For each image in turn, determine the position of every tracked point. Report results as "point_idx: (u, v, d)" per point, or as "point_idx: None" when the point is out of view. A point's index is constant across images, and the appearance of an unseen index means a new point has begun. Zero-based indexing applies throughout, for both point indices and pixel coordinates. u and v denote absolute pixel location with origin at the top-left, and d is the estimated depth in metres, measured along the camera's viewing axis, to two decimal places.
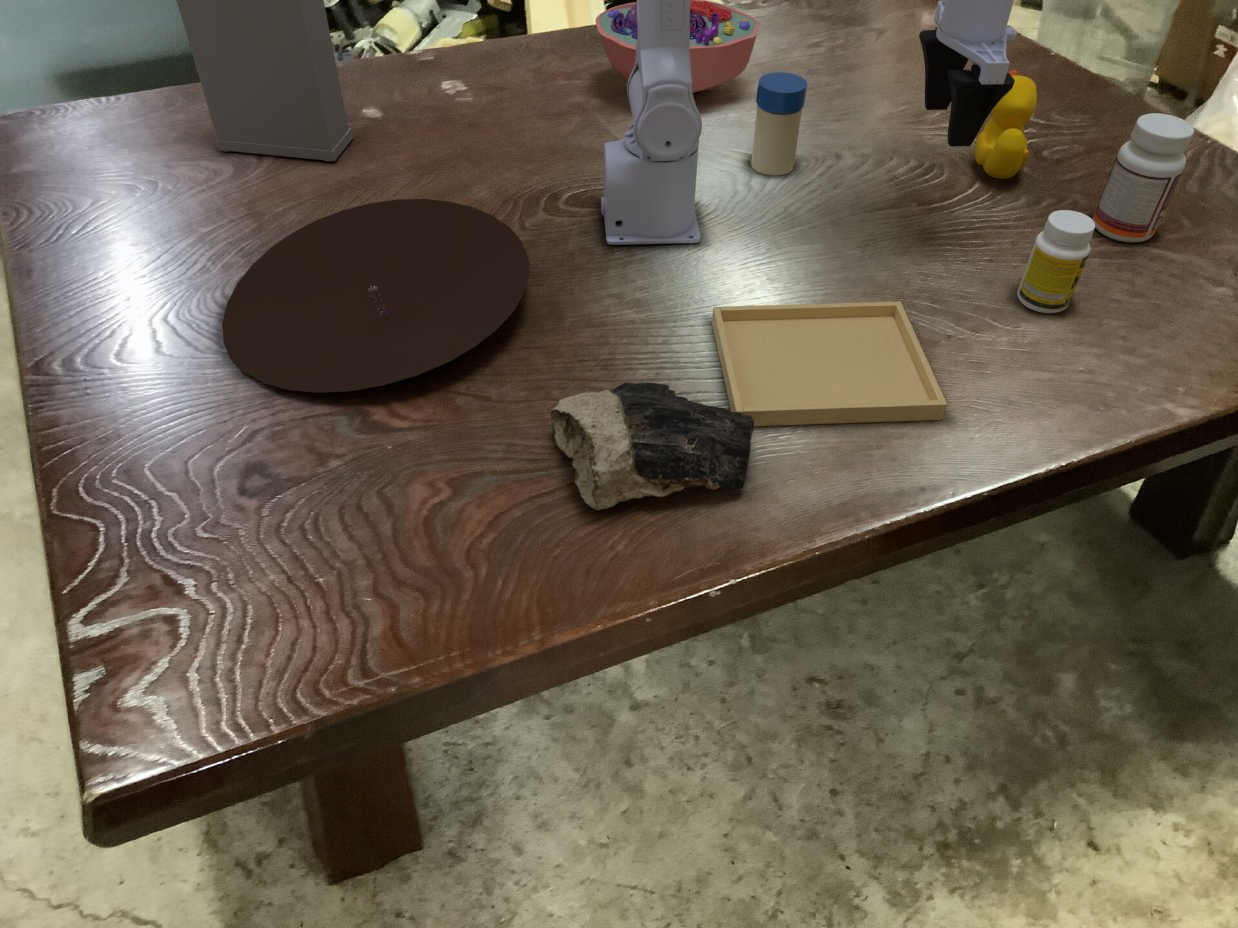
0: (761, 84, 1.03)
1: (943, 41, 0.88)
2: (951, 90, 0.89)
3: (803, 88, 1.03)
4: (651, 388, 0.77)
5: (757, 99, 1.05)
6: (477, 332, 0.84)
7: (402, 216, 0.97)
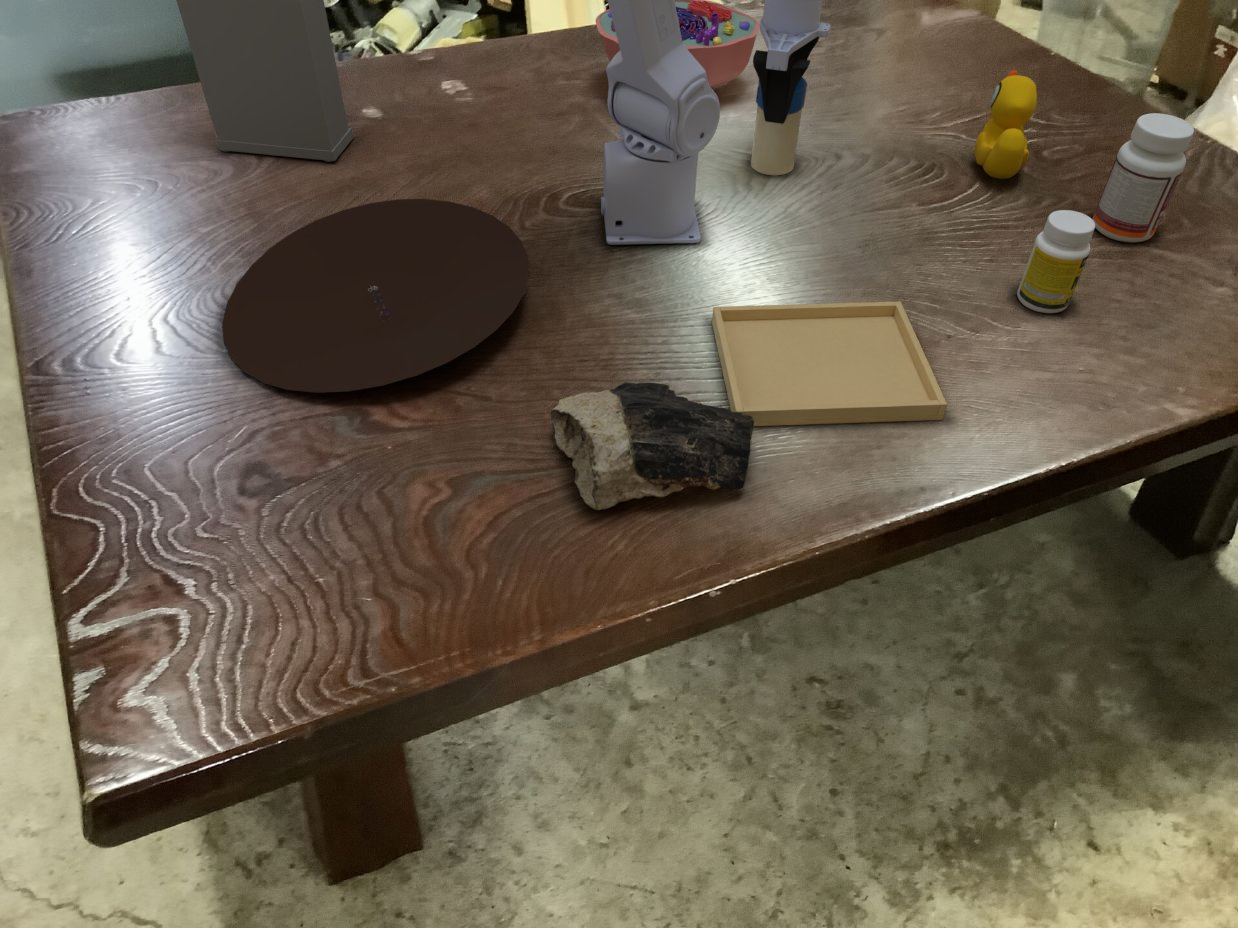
0: None
1: (760, 29, 1.00)
2: None
3: (803, 88, 1.03)
4: (651, 388, 0.77)
5: (757, 99, 1.05)
6: (477, 332, 0.84)
7: (402, 216, 0.97)
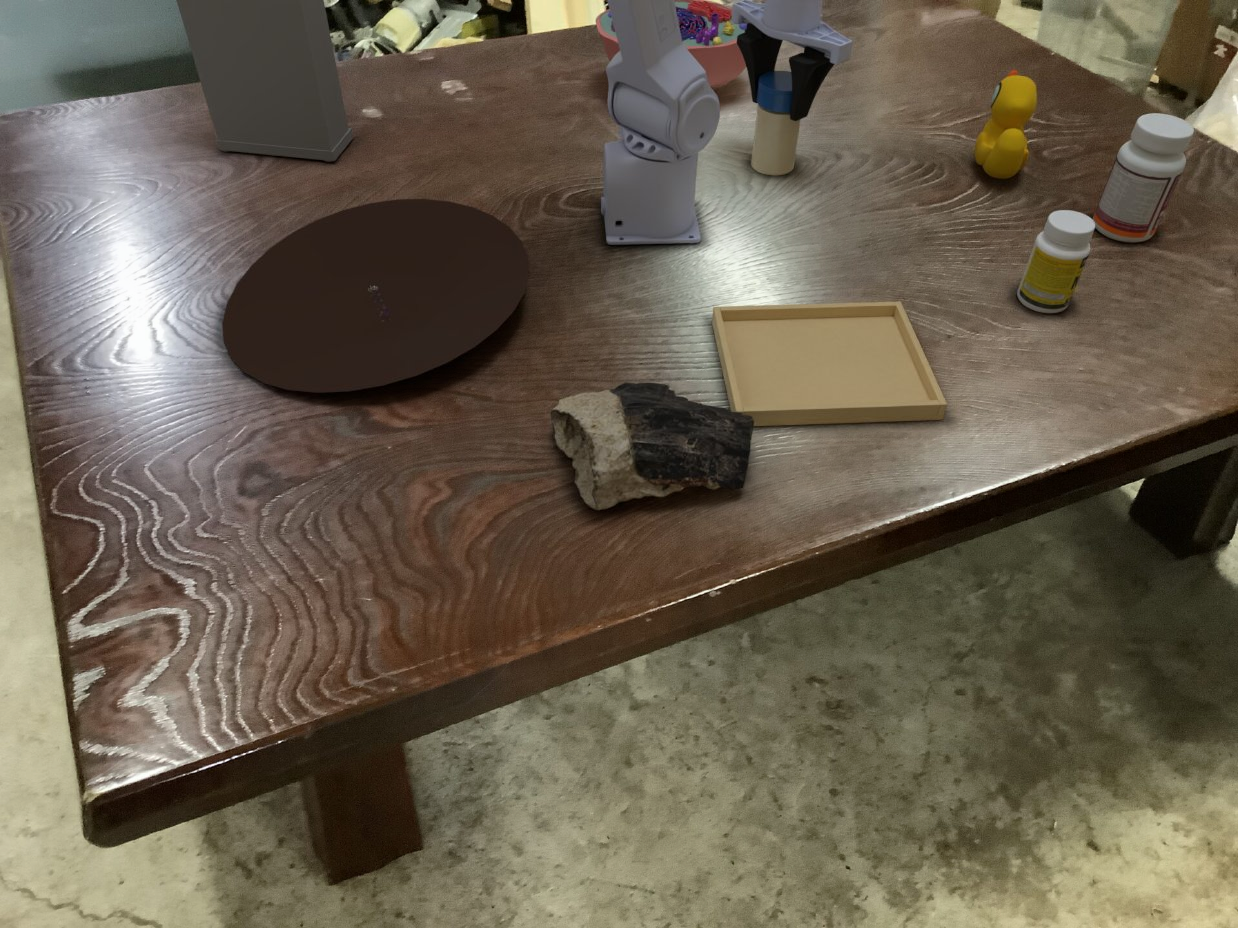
0: (778, 90, 1.02)
1: (779, 37, 0.98)
2: (793, 73, 0.99)
3: None
4: (651, 388, 0.77)
5: (773, 106, 1.03)
6: (477, 332, 0.84)
7: (402, 216, 0.97)
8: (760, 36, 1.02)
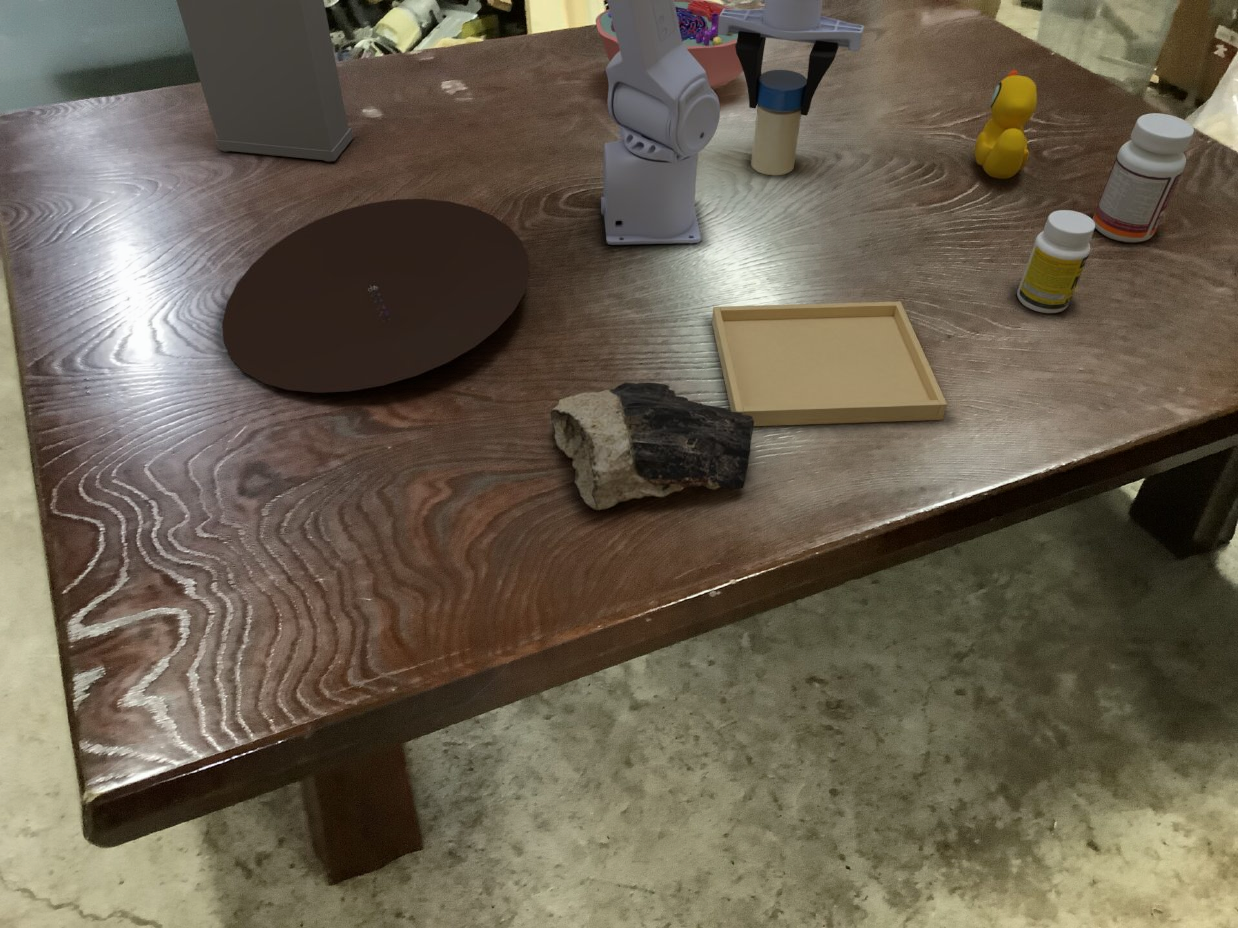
0: (791, 89, 1.02)
1: (796, 38, 0.97)
2: (811, 70, 1.00)
3: (794, 72, 1.05)
4: (651, 388, 0.77)
5: (787, 106, 1.03)
6: (477, 332, 0.84)
7: (402, 216, 0.97)
8: (757, 41, 1.01)
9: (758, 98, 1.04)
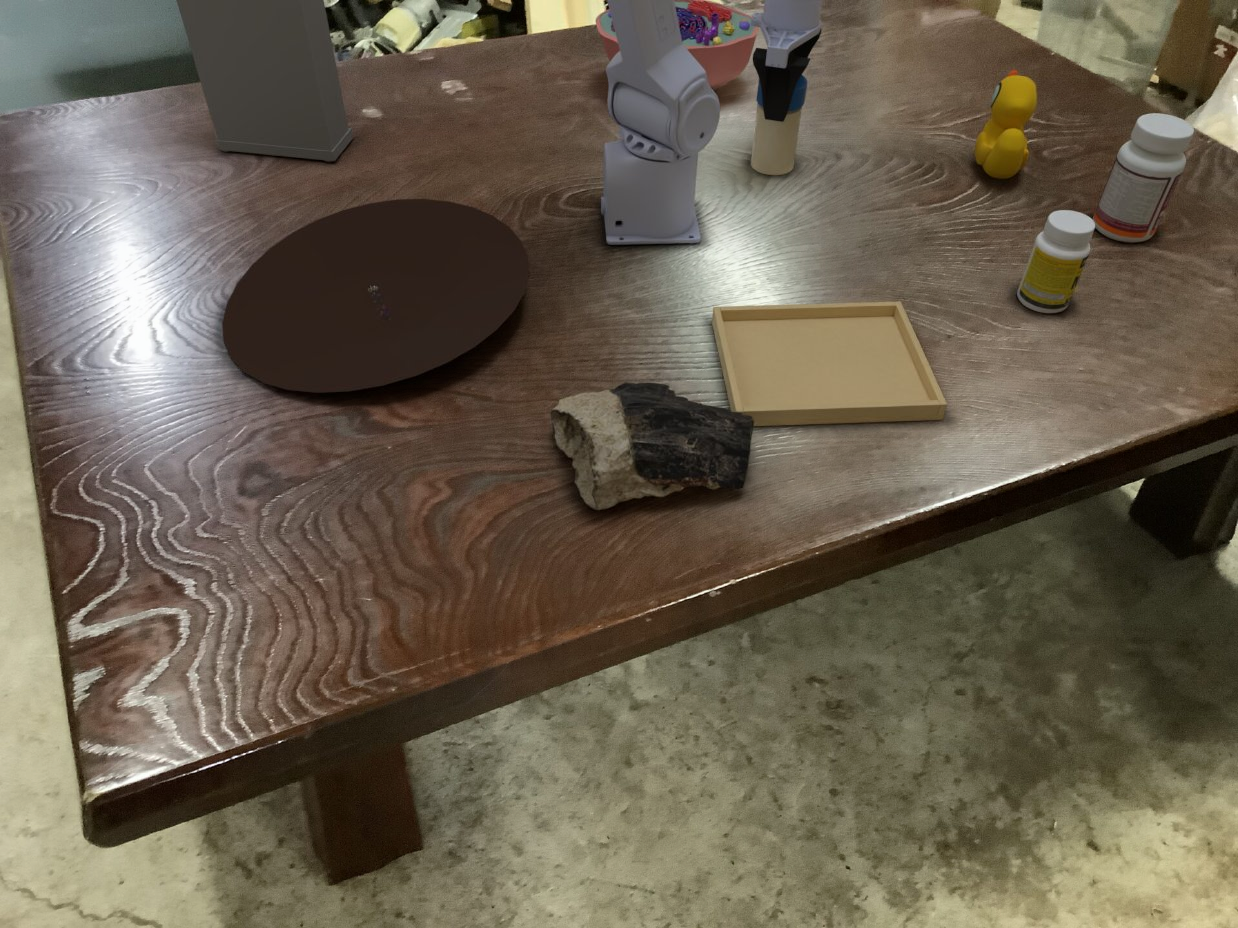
0: (804, 78, 1.04)
1: None
2: (811, 49, 1.03)
3: None
4: (651, 388, 0.77)
5: None
6: (477, 332, 0.84)
7: (402, 216, 0.97)
8: (792, 54, 0.98)
9: None
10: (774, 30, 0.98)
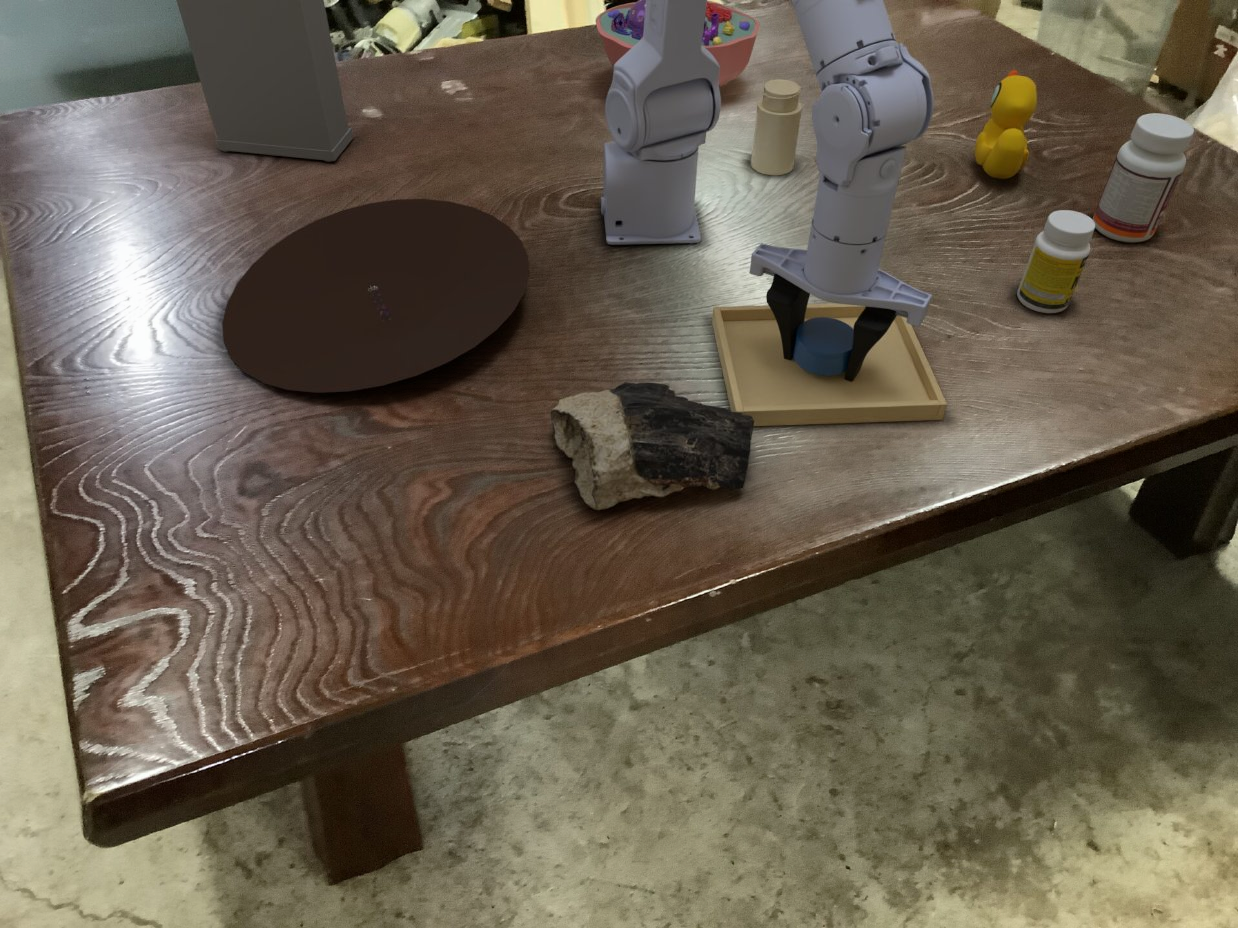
0: (831, 353, 0.81)
1: (838, 301, 0.76)
2: (857, 338, 0.78)
3: (845, 324, 0.83)
4: (651, 388, 0.77)
5: (825, 370, 0.82)
6: (477, 332, 0.84)
7: (402, 216, 0.97)
8: (796, 290, 0.80)
9: (794, 351, 0.83)
10: None
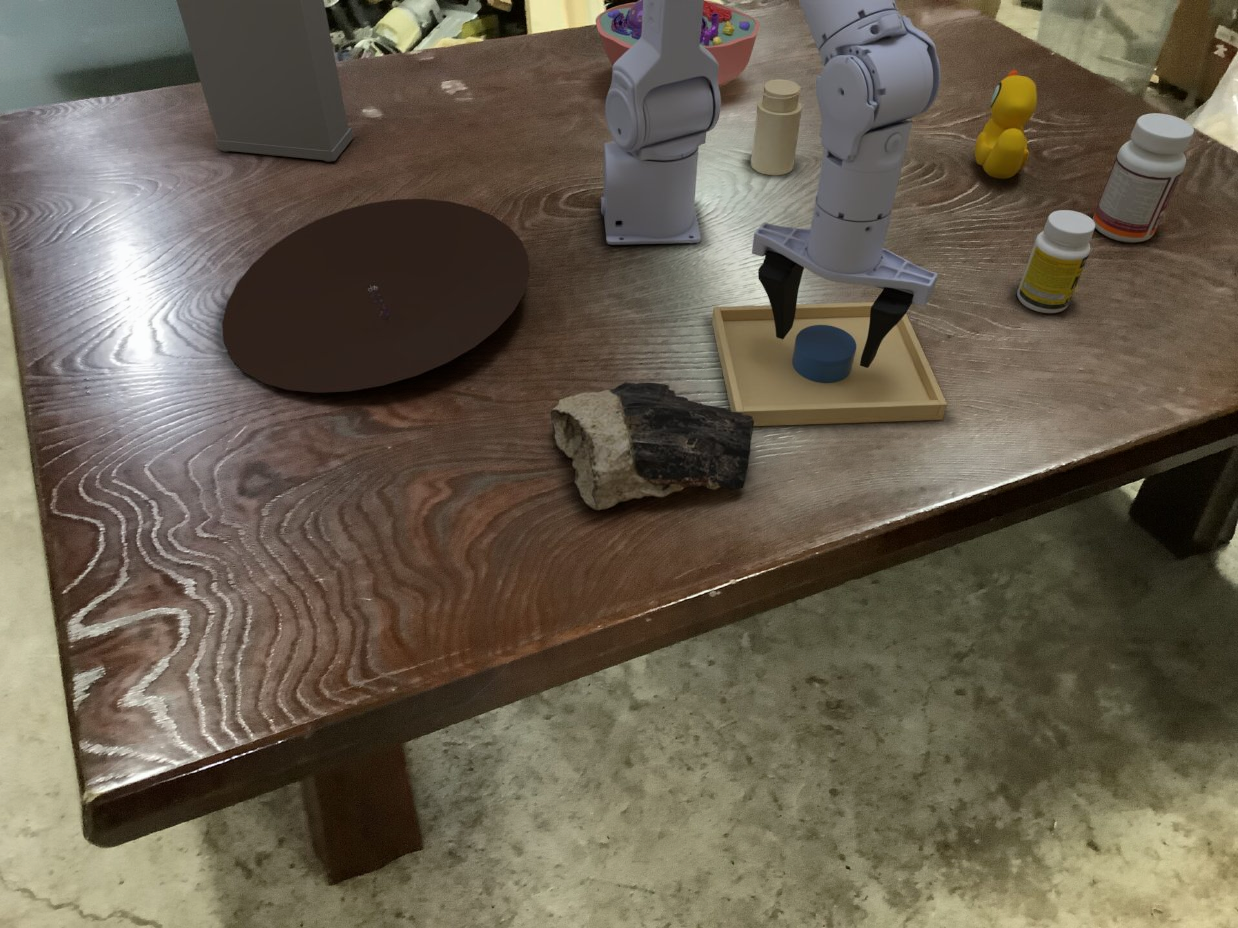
0: (830, 360, 0.81)
1: (842, 280, 0.75)
2: (873, 322, 0.77)
3: (844, 331, 0.84)
4: (651, 388, 0.77)
5: (824, 378, 0.82)
6: (477, 332, 0.84)
7: (402, 216, 0.97)
8: (788, 267, 0.79)
9: (793, 359, 0.84)
10: None
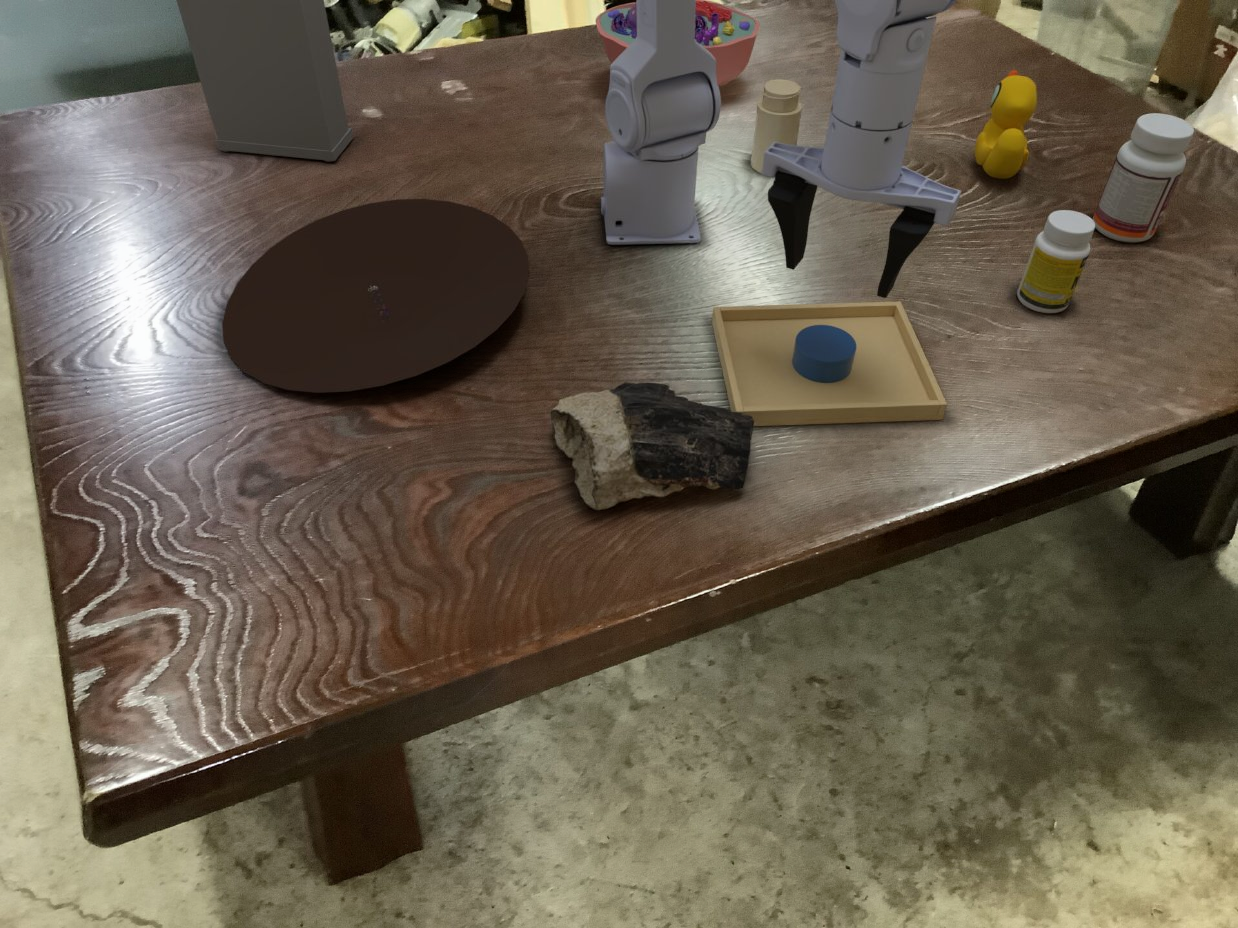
0: (830, 360, 0.81)
1: (859, 198, 0.70)
2: (892, 245, 0.72)
3: (844, 331, 0.84)
4: (651, 388, 0.77)
5: (824, 378, 0.82)
6: (477, 332, 0.84)
7: (402, 216, 0.97)
8: (800, 188, 0.74)
9: (793, 359, 0.84)
10: None
